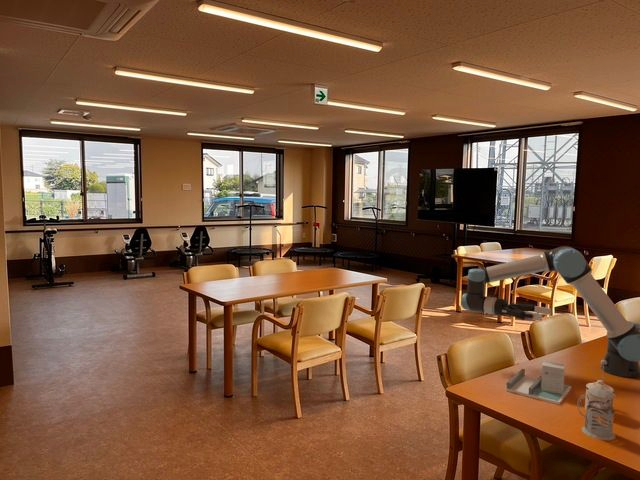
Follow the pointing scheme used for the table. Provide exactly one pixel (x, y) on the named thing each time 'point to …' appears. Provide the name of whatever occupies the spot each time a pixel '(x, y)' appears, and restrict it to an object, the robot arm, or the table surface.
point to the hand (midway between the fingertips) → (546, 314)
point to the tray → (534, 388)
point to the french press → (591, 425)
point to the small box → (552, 377)
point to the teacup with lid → (609, 401)
